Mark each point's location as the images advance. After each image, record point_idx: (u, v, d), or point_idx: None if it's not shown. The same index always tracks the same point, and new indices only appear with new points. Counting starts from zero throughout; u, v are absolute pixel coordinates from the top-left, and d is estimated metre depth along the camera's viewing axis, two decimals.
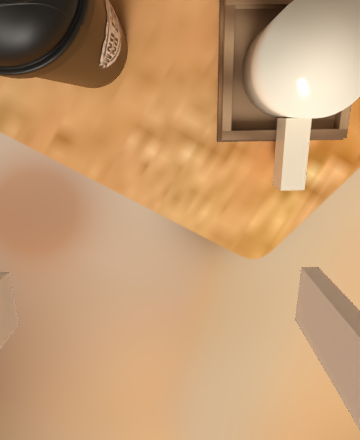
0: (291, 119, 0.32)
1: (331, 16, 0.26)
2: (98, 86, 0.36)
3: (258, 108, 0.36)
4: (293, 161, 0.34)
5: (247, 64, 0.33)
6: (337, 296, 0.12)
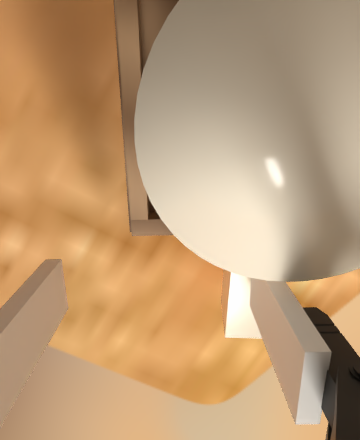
0: None
1: (358, 17, 0.07)
2: None
3: None
4: None
5: None
6: None
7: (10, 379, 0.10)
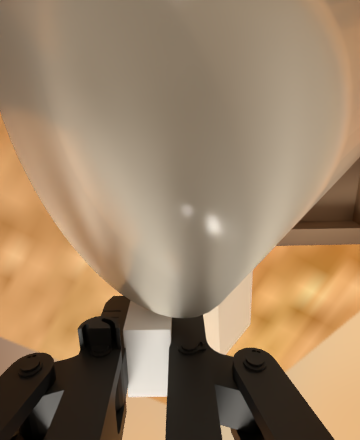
0: None
1: (63, 40, 0.07)
2: None
3: None
4: None
5: None
6: None
7: None
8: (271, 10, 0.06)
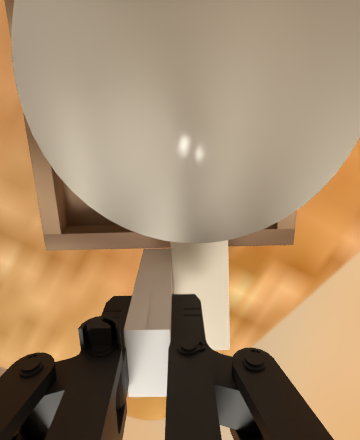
0: None
1: None
2: None
3: None
4: None
5: None
6: (164, 269, 0.14)
7: None
8: None
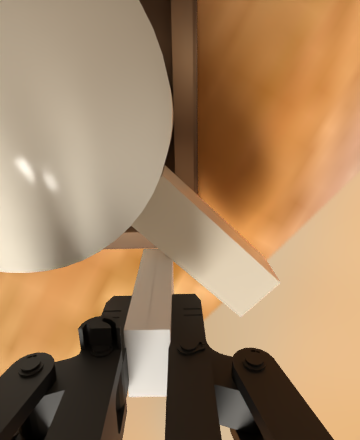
0: None
1: None
2: None
3: None
4: (212, 263, 0.15)
5: None
6: (164, 269, 0.14)
7: None
8: None
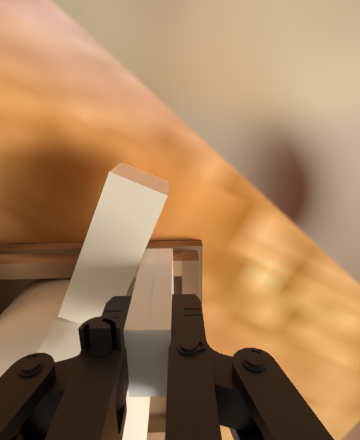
0: None
1: None
2: None
3: None
4: (117, 249, 0.14)
5: None
6: (164, 269, 0.14)
7: None
8: None
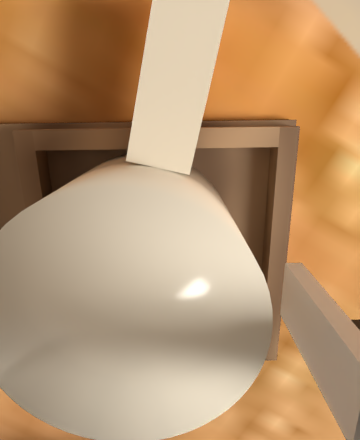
0: (177, 169, 0.13)
1: (96, 398, 0.11)
2: None
3: (213, 186, 0.18)
4: (186, 49, 0.11)
5: None
6: (317, 290, 0.12)
7: None
8: None
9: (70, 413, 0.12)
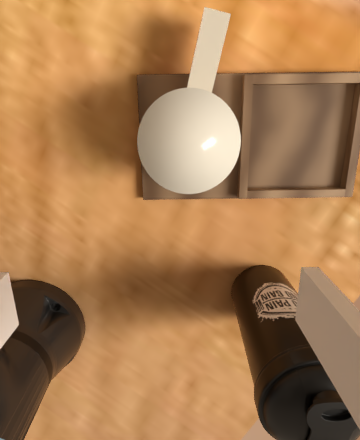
0: None
1: (177, 172, 0.31)
2: None
3: None
4: (211, 46, 0.31)
5: None
6: (337, 296, 0.12)
7: None
8: None
9: (167, 179, 0.32)
